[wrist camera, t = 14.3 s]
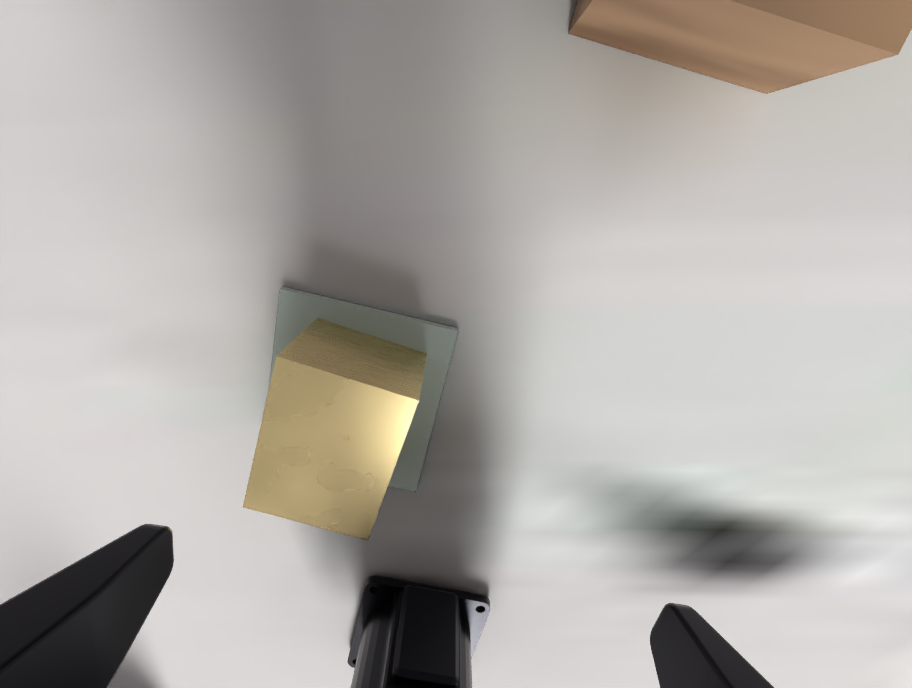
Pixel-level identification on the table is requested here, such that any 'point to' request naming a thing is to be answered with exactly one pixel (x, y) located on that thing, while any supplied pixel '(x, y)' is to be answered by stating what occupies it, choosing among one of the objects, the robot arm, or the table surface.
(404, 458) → the glass plate
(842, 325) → the table surface
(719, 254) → the table surface
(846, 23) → the plane block
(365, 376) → the brass block
